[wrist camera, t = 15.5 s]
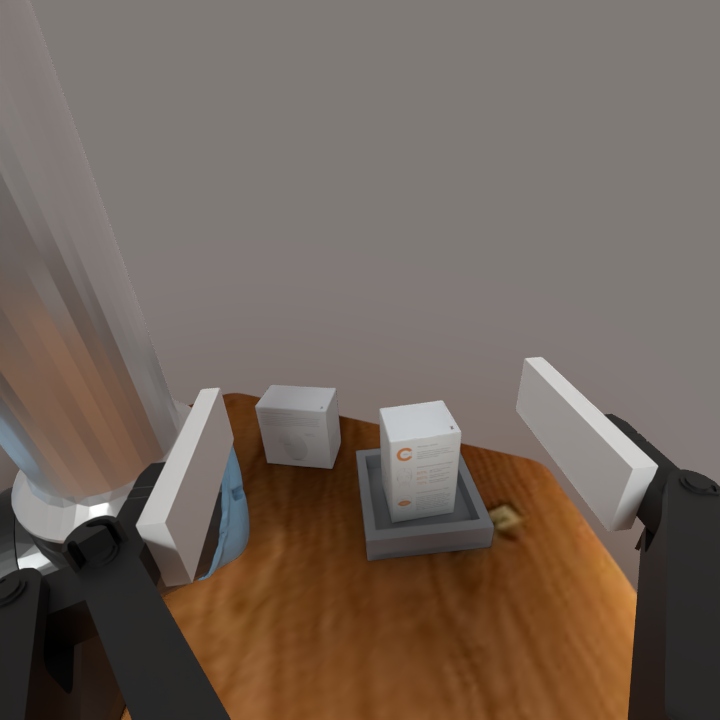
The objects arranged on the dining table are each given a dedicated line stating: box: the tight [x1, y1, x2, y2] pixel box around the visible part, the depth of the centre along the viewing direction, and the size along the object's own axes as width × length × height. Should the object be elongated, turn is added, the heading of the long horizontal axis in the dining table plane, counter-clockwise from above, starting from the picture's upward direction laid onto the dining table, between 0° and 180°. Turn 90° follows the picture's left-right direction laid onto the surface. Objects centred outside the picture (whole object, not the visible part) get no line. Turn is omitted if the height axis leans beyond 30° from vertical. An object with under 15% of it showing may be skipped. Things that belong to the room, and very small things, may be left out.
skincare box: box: [255, 385, 341, 469], centre depth 58 cm, size 10×6×10 cm, turn 80°
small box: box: [379, 400, 462, 523], centre depth 47 cm, size 8×6×13 cm
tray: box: [356, 448, 494, 561], centre depth 50 cm, size 14×14×4 cm
